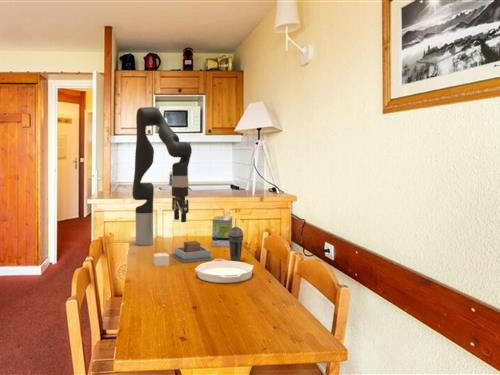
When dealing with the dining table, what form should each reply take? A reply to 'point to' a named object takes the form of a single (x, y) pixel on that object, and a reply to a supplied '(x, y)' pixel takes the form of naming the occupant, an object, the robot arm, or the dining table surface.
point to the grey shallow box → (192, 255)
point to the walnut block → (191, 246)
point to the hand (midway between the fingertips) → (180, 220)
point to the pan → (224, 271)
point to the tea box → (221, 231)
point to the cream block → (161, 259)
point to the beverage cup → (235, 243)
